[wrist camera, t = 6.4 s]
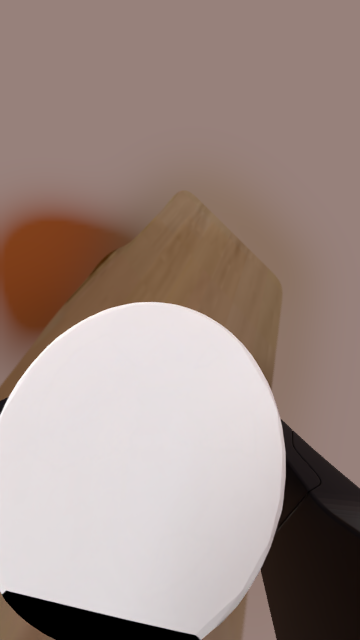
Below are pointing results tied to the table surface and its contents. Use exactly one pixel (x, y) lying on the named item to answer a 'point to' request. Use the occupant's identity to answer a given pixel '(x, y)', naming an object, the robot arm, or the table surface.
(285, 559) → the robot arm
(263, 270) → the table surface
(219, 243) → the table surface
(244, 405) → the supplement bottle
